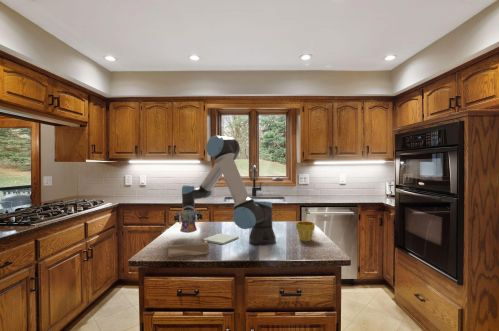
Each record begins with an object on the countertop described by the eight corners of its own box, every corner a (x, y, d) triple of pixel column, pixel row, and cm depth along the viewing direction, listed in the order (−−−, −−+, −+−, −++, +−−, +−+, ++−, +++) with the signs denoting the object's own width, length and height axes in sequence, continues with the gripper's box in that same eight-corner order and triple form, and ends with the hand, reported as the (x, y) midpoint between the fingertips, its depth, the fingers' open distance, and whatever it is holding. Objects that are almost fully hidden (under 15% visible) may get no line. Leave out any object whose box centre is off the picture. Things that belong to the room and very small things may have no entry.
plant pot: (313, 243, 153) (313, 225, 152) (295, 241, 156) (294, 224, 156) (315, 238, 162) (315, 221, 162) (297, 236, 166) (297, 220, 166)
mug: (197, 233, 139) (196, 212, 139) (178, 234, 138) (177, 213, 138) (198, 228, 151) (197, 208, 151) (180, 228, 150) (180, 209, 150)
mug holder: (170, 246, 151) (170, 236, 151) (206, 243, 155) (206, 234, 155) (168, 256, 133) (168, 246, 133) (208, 253, 137) (208, 243, 137)
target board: (238, 238, 164) (238, 236, 164) (223, 244, 152) (223, 242, 152) (219, 235, 172) (219, 233, 172) (202, 240, 160) (202, 239, 160)
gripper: (206, 218, 164) (208, 226, 142) (170, 220, 160) (167, 229, 137) (205, 205, 164) (208, 211, 142) (170, 207, 160) (167, 214, 137)
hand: (188, 220), depth 140 cm, fingers closed on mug, 7 cm apart
